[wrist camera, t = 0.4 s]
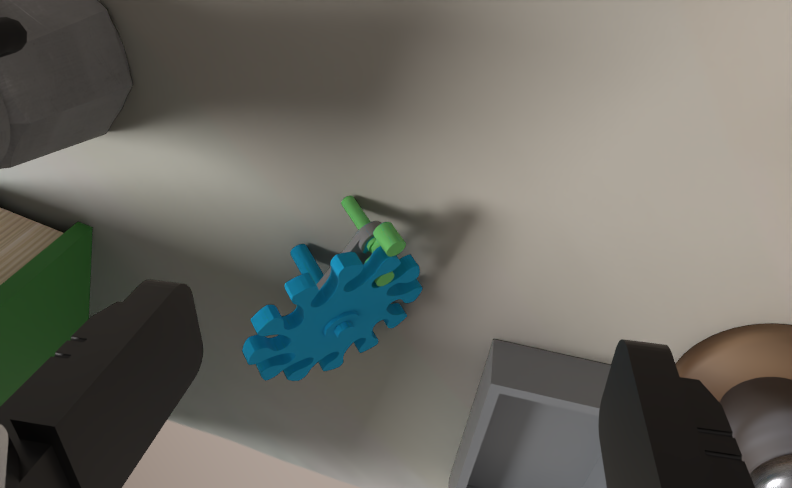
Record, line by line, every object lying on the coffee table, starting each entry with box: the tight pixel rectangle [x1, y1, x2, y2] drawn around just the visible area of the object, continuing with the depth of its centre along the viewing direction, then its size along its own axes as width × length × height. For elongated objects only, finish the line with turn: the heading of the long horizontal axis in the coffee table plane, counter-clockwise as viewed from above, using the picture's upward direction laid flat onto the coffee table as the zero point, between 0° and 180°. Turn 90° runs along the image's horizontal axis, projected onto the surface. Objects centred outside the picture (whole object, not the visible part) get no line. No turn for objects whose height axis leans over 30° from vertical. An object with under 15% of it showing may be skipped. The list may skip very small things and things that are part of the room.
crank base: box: [675, 324, 792, 474], centre depth 30 cm, size 9×9×6 cm
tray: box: [448, 339, 611, 488], centre depth 36 cm, size 14×9×4 cm, turn 172°
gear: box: [242, 196, 423, 381], centre depth 31 cm, size 11×6×10 cm
